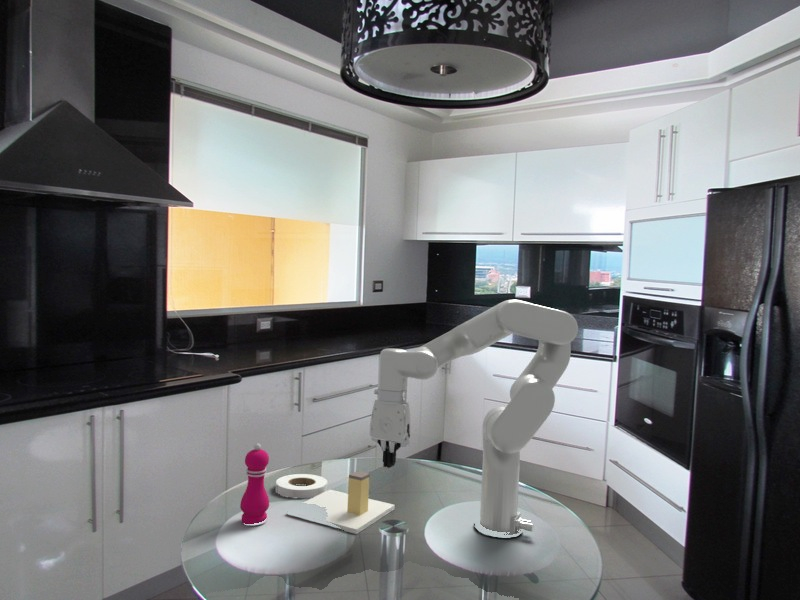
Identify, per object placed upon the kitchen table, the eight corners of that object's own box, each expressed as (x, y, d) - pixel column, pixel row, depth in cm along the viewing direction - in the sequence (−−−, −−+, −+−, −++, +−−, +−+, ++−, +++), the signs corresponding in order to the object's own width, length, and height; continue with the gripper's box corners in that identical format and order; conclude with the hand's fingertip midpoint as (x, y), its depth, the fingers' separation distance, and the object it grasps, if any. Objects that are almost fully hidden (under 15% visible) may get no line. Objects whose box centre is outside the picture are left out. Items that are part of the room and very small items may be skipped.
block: (367, 510, 147) (369, 473, 147) (359, 515, 144) (361, 477, 144) (355, 507, 149) (357, 471, 149) (347, 512, 145) (349, 474, 146)
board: (394, 509, 152) (394, 504, 152) (356, 534, 135) (356, 529, 135) (329, 493, 163) (329, 489, 163) (286, 514, 145) (286, 510, 145)
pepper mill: (239, 528, 135) (243, 447, 135) (239, 517, 142) (243, 440, 142) (269, 526, 137) (272, 446, 137) (268, 515, 144) (271, 439, 144)
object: (306, 479, 176) (307, 470, 176) (337, 492, 165) (337, 482, 165) (265, 489, 165) (265, 479, 165) (294, 503, 154) (295, 493, 154)
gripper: (360, 394, 143) (357, 464, 142) (411, 401, 136) (408, 475, 136) (374, 391, 149) (371, 457, 149) (424, 397, 142) (420, 467, 142)
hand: (388, 465), depth 142 cm, fingers closed
